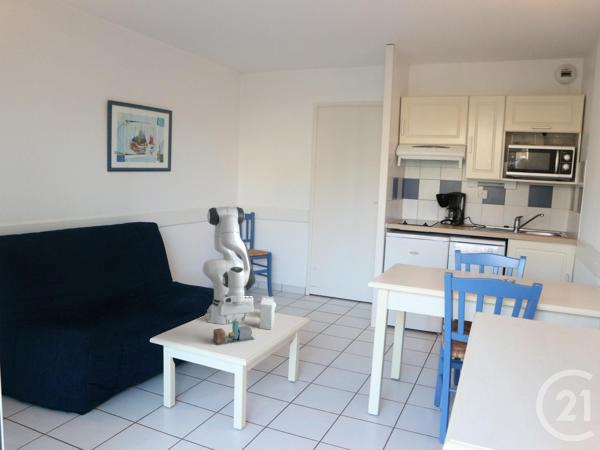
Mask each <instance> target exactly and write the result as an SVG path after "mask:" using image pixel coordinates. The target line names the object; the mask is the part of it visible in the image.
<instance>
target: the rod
mask: <svg viewBox="0 0 600 450" xmlns="http://www.w3.org/2000/svg"><path fill="white" fill-rule="evenodd" d="M238 327H239V321H238V320H237V319H236V320H234V321H233V322H232V331H231V332H228V333H227V337H229V338H234V339H238V337H239V331H238ZM252 330H253V329H251V336H253V331H252Z"/></svg>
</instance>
